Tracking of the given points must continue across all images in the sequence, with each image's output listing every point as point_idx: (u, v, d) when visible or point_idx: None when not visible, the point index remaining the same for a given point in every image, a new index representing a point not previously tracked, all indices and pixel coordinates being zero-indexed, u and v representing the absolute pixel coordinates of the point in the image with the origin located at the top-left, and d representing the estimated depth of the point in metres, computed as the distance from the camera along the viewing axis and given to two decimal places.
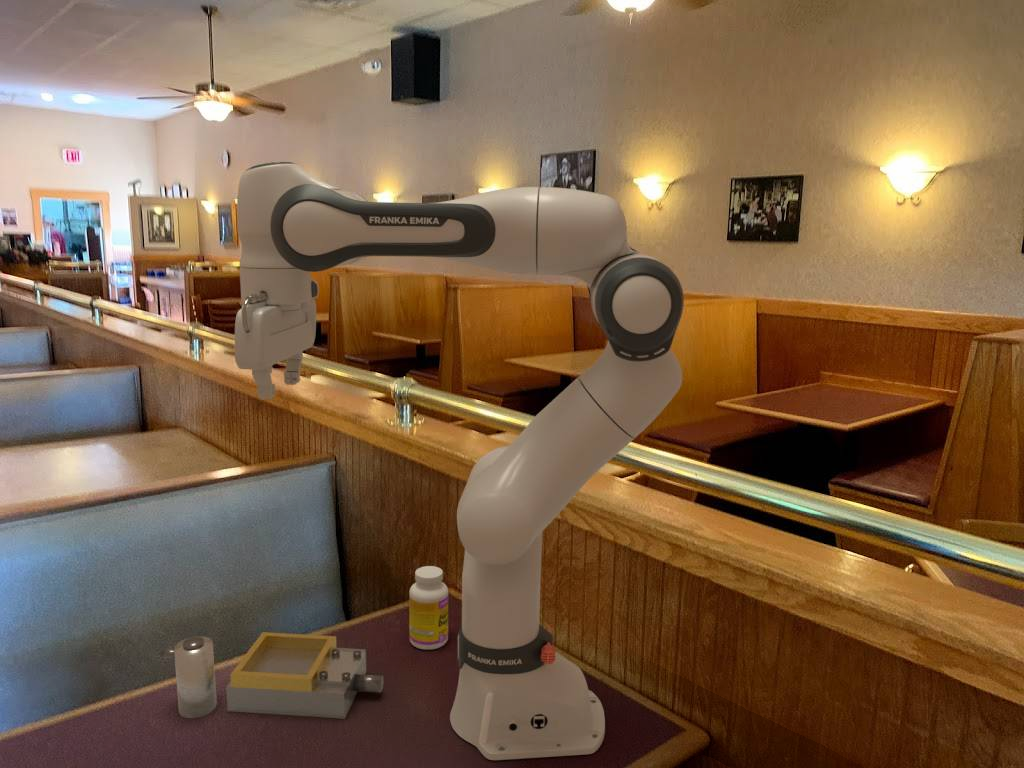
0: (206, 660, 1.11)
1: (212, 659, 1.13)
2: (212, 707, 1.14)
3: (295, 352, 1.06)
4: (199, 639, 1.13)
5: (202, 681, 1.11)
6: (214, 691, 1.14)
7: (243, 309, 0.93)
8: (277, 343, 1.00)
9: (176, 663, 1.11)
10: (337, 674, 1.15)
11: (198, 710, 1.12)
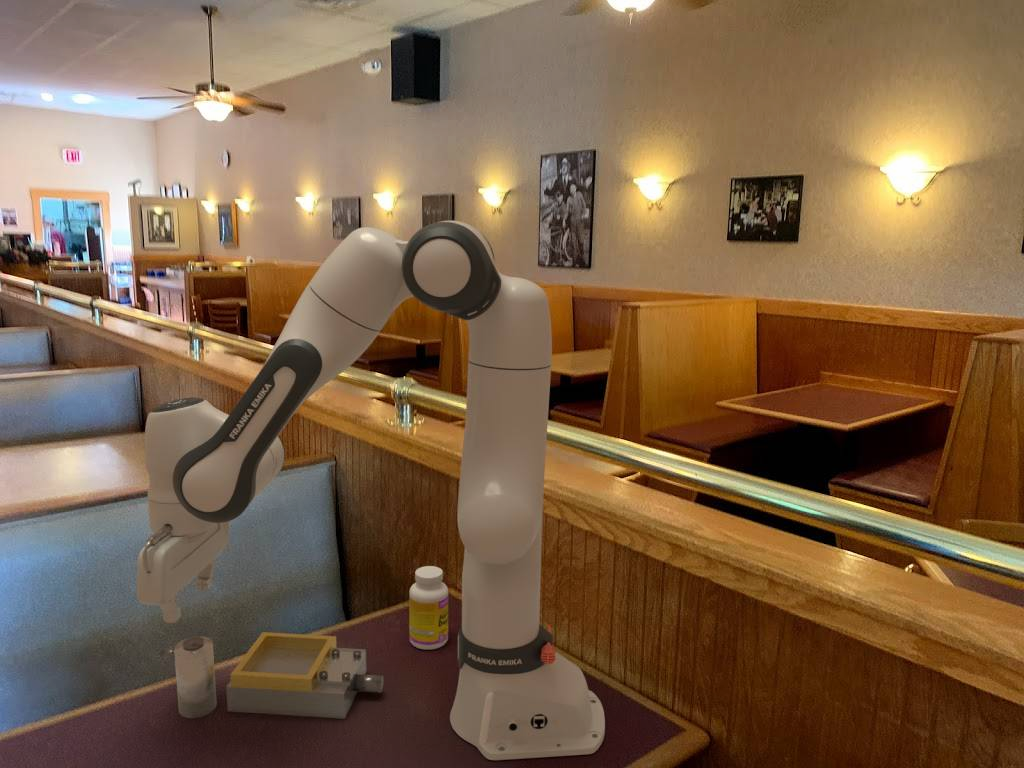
0: (206, 660, 1.11)
1: (212, 659, 1.13)
2: (212, 707, 1.14)
3: (204, 566, 1.12)
4: (199, 639, 1.13)
5: (202, 681, 1.11)
6: (214, 691, 1.14)
7: (144, 554, 0.99)
8: (182, 572, 1.05)
9: (176, 663, 1.11)
10: (337, 674, 1.15)
11: (198, 710, 1.12)
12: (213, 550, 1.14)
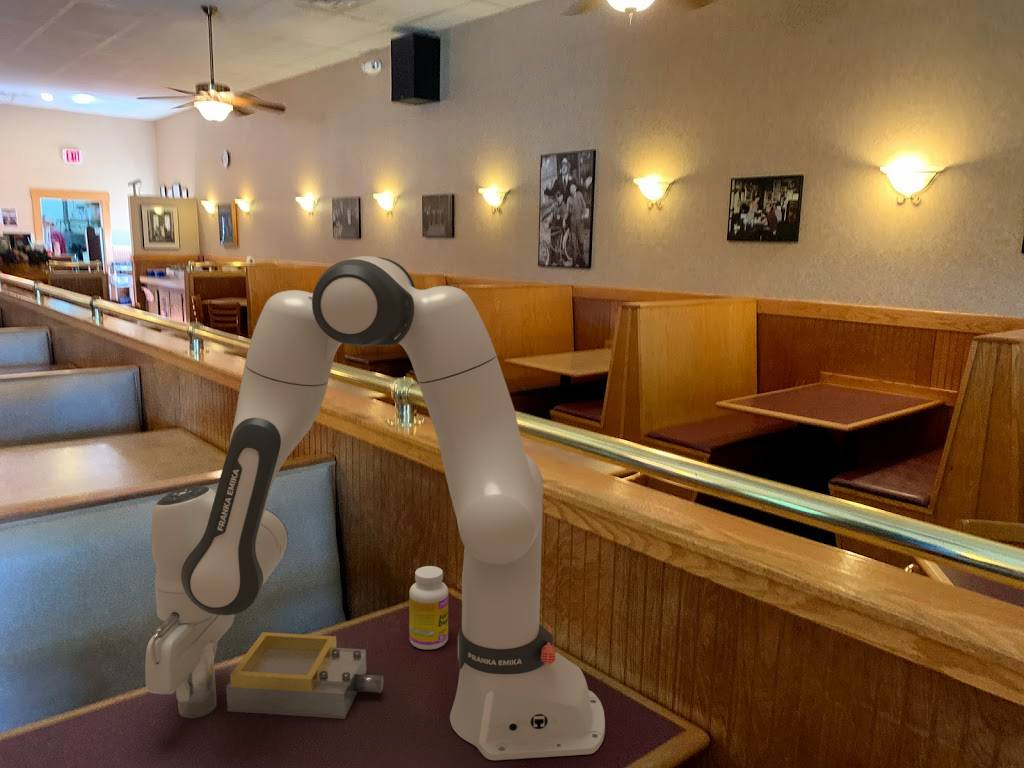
0: (206, 660, 1.11)
1: (212, 659, 1.13)
2: (212, 707, 1.14)
3: None
4: None
5: (202, 681, 1.11)
6: (214, 691, 1.14)
7: (152, 646, 1.01)
8: (189, 658, 1.08)
9: None
10: (337, 674, 1.15)
11: (198, 710, 1.12)
12: (219, 630, 1.17)
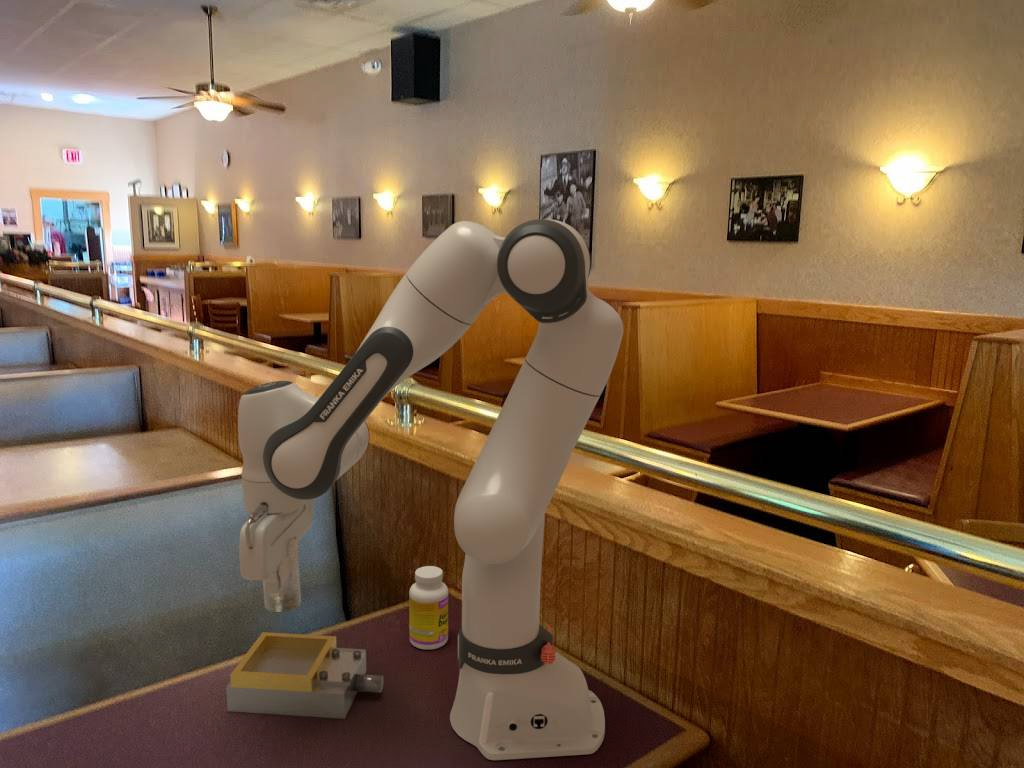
0: (291, 554, 1.13)
1: (297, 554, 1.14)
2: (298, 602, 1.15)
3: None
4: None
5: (288, 574, 1.13)
6: (299, 587, 1.15)
7: (246, 530, 1.02)
8: (278, 548, 1.09)
9: None
10: (337, 674, 1.15)
11: (285, 604, 1.13)
12: (301, 529, 1.18)
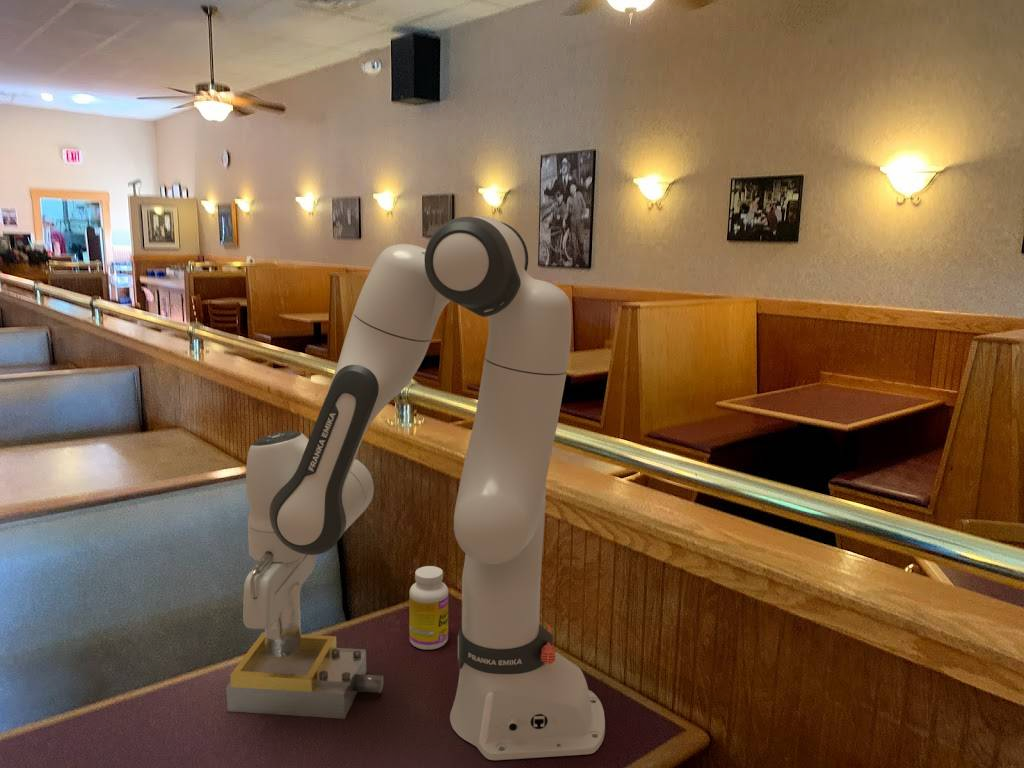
0: (294, 600, 1.15)
1: (299, 600, 1.16)
2: (298, 647, 1.17)
3: None
4: None
5: (290, 620, 1.15)
6: (300, 631, 1.17)
7: (251, 581, 1.04)
8: (281, 596, 1.11)
9: None
10: (337, 674, 1.15)
11: (286, 648, 1.15)
12: (303, 574, 1.20)
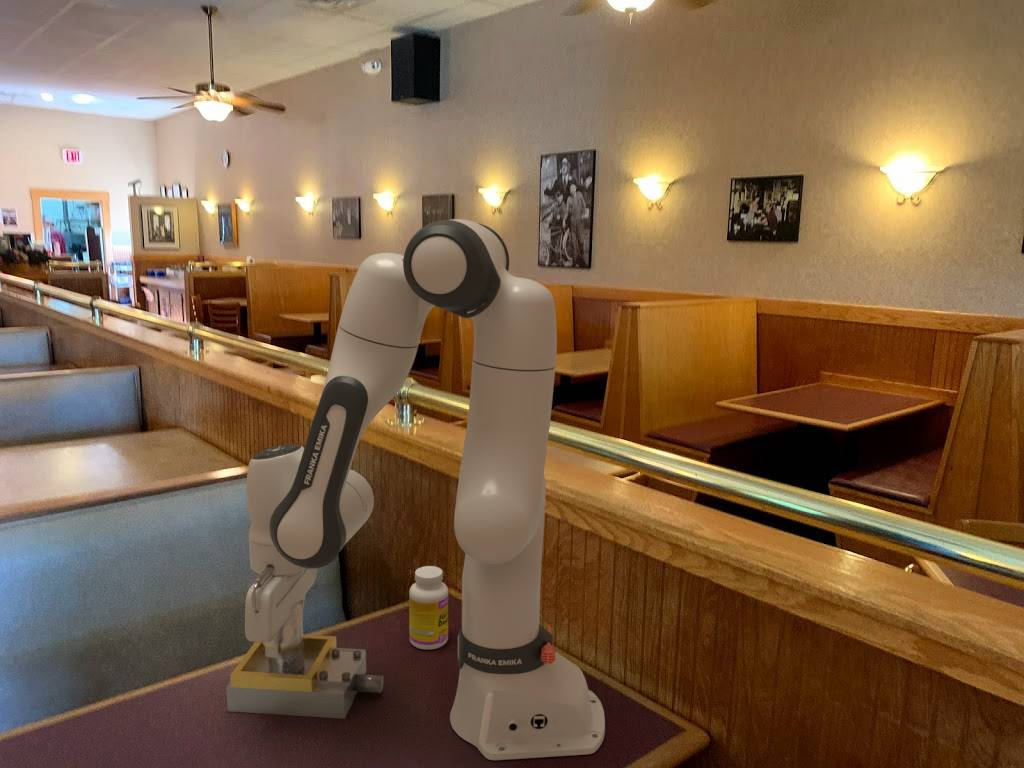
0: (296, 620, 1.15)
1: (301, 619, 1.17)
2: (301, 666, 1.17)
3: None
4: None
5: (293, 640, 1.15)
6: (302, 650, 1.18)
7: (253, 595, 1.05)
8: (283, 609, 1.11)
9: None
10: (337, 674, 1.15)
11: (289, 668, 1.16)
12: (305, 586, 1.20)
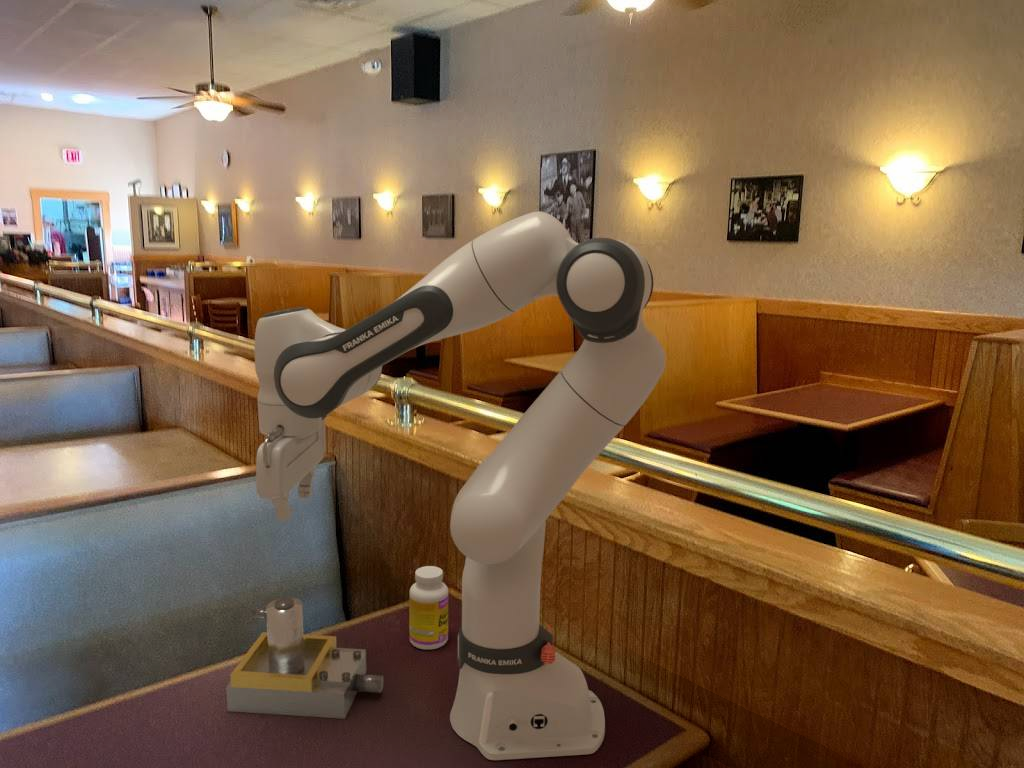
0: (297, 620, 1.15)
1: (302, 619, 1.17)
2: (301, 666, 1.17)
3: (308, 471, 1.17)
4: (289, 600, 1.17)
5: (293, 640, 1.15)
6: (303, 650, 1.18)
7: (264, 448, 1.04)
8: (293, 471, 1.11)
9: (268, 622, 1.15)
10: (337, 674, 1.15)
11: (289, 668, 1.16)
12: (314, 458, 1.20)
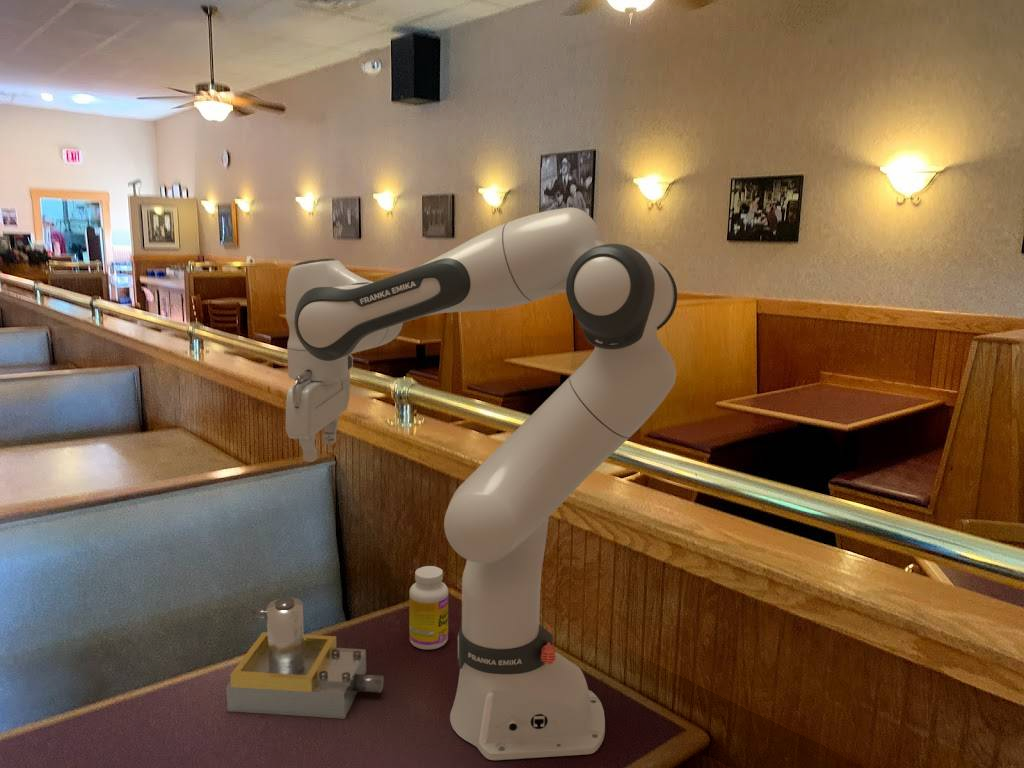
0: (297, 620, 1.15)
1: (302, 619, 1.17)
2: (301, 666, 1.17)
3: (333, 418, 1.22)
4: (289, 600, 1.17)
5: (294, 640, 1.15)
6: (303, 650, 1.18)
7: (294, 389, 1.09)
8: (320, 414, 1.16)
9: (269, 622, 1.15)
10: (337, 674, 1.15)
11: (289, 668, 1.16)
12: (339, 406, 1.25)
